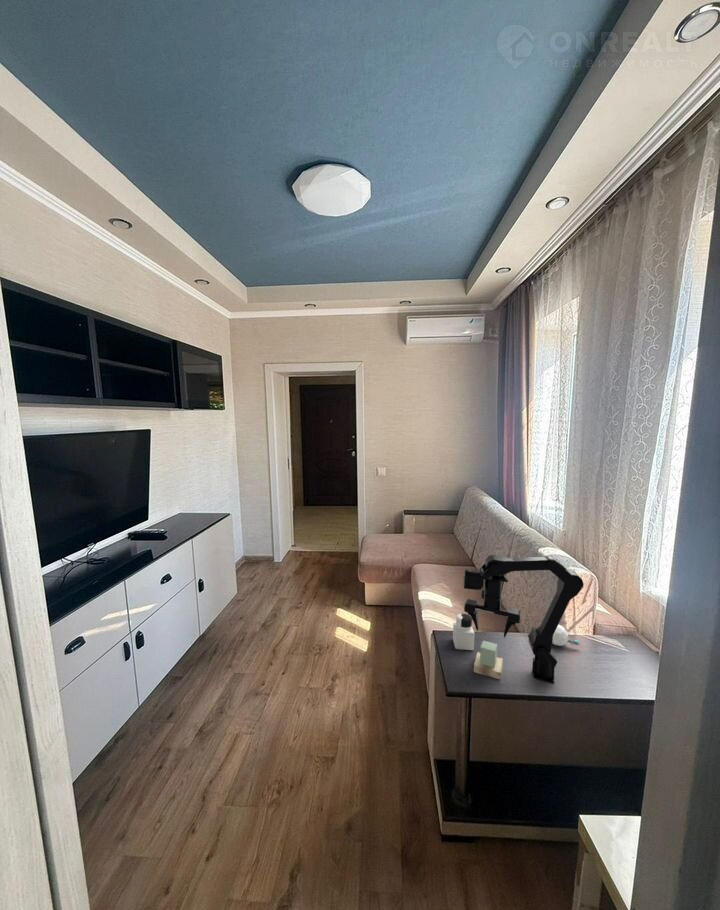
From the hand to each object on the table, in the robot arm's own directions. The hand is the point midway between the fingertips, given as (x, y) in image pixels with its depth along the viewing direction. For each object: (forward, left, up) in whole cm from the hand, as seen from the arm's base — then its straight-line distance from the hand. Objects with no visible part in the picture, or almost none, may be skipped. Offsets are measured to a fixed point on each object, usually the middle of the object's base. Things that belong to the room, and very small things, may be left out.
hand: (490, 633), depth 133 cm
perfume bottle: (-25, -29, -13) cm, 40 cm away
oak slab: (0, +1, -13) cm, 13 cm away
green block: (0, +1, -10) cm, 10 cm away
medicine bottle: (+11, -10, -13) cm, 20 cm away
